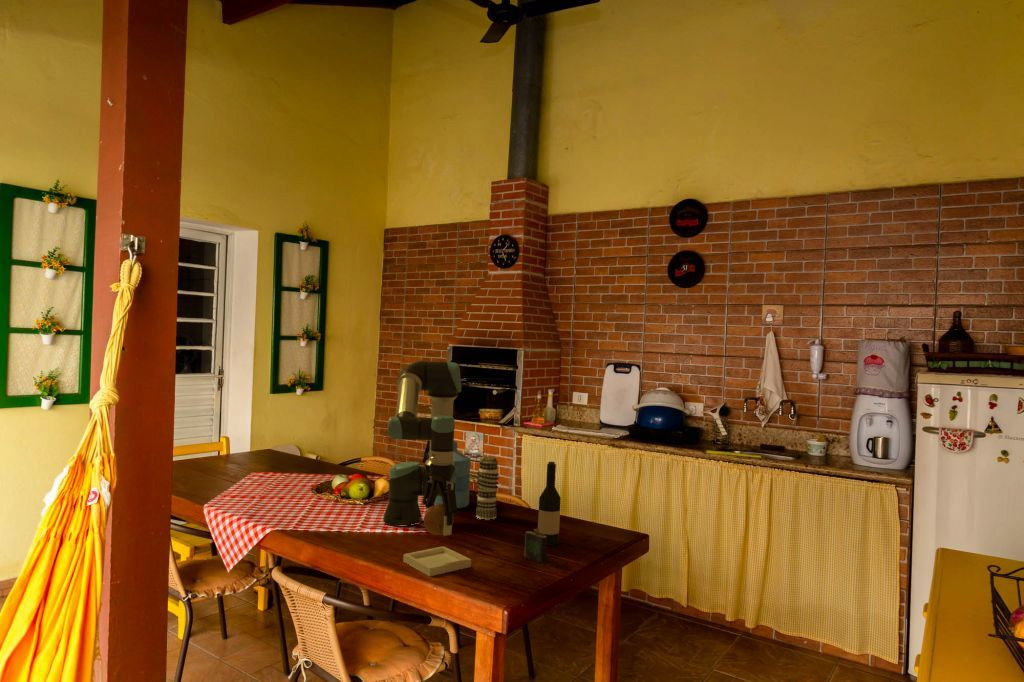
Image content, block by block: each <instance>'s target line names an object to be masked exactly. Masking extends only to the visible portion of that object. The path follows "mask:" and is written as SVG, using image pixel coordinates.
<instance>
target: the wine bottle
mask: <svg viewBox="0 0 1024 682" xmlns="http://www.w3.org/2000/svg"><path fill="white" fill-rule="evenodd" d="M556 470H557V464H556V461H548V463H547V464H546V479H545V480H546V483H545V488H544V490H543V491H542V493H541V494H540V496H539V498H538V516H537V517H538V519H537V520H538V521H537V529H539V530H538V531H539V532H540V534H542V535H543V534H544V536H546V537H547V545H554V546H557V545H556V544H558V545H559V543H558V542H560V540H559V539H560V520H561V519H560V517H561V500H562V499H561V495H560V494H559V491H558V490H557V488H556V472H557V471H556Z"/></svg>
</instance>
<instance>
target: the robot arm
mask: <svg viewBox="0 0 1024 682" xmlns="http://www.w3.org/2000/svg"><path fill="white" fill-rule="evenodd" d="M460 368H461V367H460V365H459V364H458V363H456V362H450V361H429V360H428V361H425V360H420V361H415V362H413V363H411V364H409V365H406V367H404V368H403V369H402V370H401V371H400V373H399V374H398V377H397V379H396V388H397V390H398V392H397V399H396V401H397V402H396V409H395V415H394V416H391V417H389V419H388V421H387V422H388V423H387V437H388V438H389V439H391V440H399V441H401V440H409V441H410V440H411V441H412V440H413V441H414V440H415V441H418V440H419V441H429V455H428V456H429V457H428V459H426V460H425V462H424V466H421V464H420V462H419V461H404V462H398V463H396V464H394V465H392V466H391V467H390V469H389V476H388V479H389V485H388V486H389V487H388V502H387V506H386V508H385V510H384V513H383V516H382V517H383V519H382V522H383V521H384V522H385V523H387V524H390V525H389V526H391V525H411V524H415V523H419V522H420V521H421V522H422V519H423V518H422V512H421V508H420V505H419V497H423V498H422V502H421V503H422V505H425V509H426V511H427V510H428V509H429V508H430V507H431V506H433V505H435V504H434V502H435V500H436V497H437V496H441V497H442V500H443V505H444V509H445V513H446V514H444V527H443V536H444V537H446V536H450V535H452V528H453V525H452V520H453V517H454V515H457V514H458V509H457V504H456V494H455V486H456V479H457V467H454V462H453V444H454V441H455V428H456V424H455V418H454V417H453V415H454V401H455V400H456V399H457V397H458V393H461V392H462V381H461V369H460ZM420 391H422V392H423V391H424V392H425V391H426V392H428V393H427V396H428V397H429V398H430V400H431V407H430V409H431V410H430V417H418V407H419V394H420V393H419V392H420ZM426 511H425V512H426ZM384 522H383V523H384ZM385 523H384V524H385ZM387 524H386V525H387Z"/></svg>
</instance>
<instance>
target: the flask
mask: <svg viewBox="0 0 1024 682" xmlns="http://www.w3.org/2000/svg"><path fill="white" fill-rule="evenodd" d="M538 530H539V529H538V528H534V529H533V531H530V530H529V531H528V530H526V531H525V533H524V551H523V557H524V558H525V559H526V558H527V560H530V559H532V560H536V561H538V562H537V563H539V562H541V563H540V564H543V563H545V562H546V563H547V537H546V536H544V534H543V535H542V534H540V532H539V531H538ZM532 560H531V561H532ZM546 563H545V564H546Z"/></svg>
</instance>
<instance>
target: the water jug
mask: <svg viewBox="0 0 1024 682" xmlns="http://www.w3.org/2000/svg"><path fill="white" fill-rule="evenodd" d="M458 443H459V441H457V440H456V441H455V440H454V444H453V462H454V467H457V479H456V486H455V494H456V504H457V508H459V509H464V508H466V507H468V505H470V486H471V478H470V477H471V467H472V466H471V465H472V464H471V458H470V456H467V455H466V454H464V453H462V452H460V451H458ZM435 504H443V500H442V497H441V496H437V497H436V500H435V502H434V505H435ZM463 507H464V508H463Z"/></svg>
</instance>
